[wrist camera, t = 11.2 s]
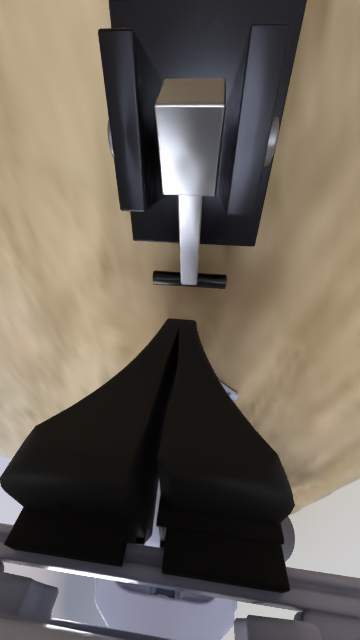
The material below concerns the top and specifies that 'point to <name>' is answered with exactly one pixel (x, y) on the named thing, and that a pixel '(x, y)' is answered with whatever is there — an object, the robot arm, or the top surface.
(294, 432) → the top surface
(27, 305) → the top surface
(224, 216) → the tap bracket
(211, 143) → the tap lever
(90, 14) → the top surface
